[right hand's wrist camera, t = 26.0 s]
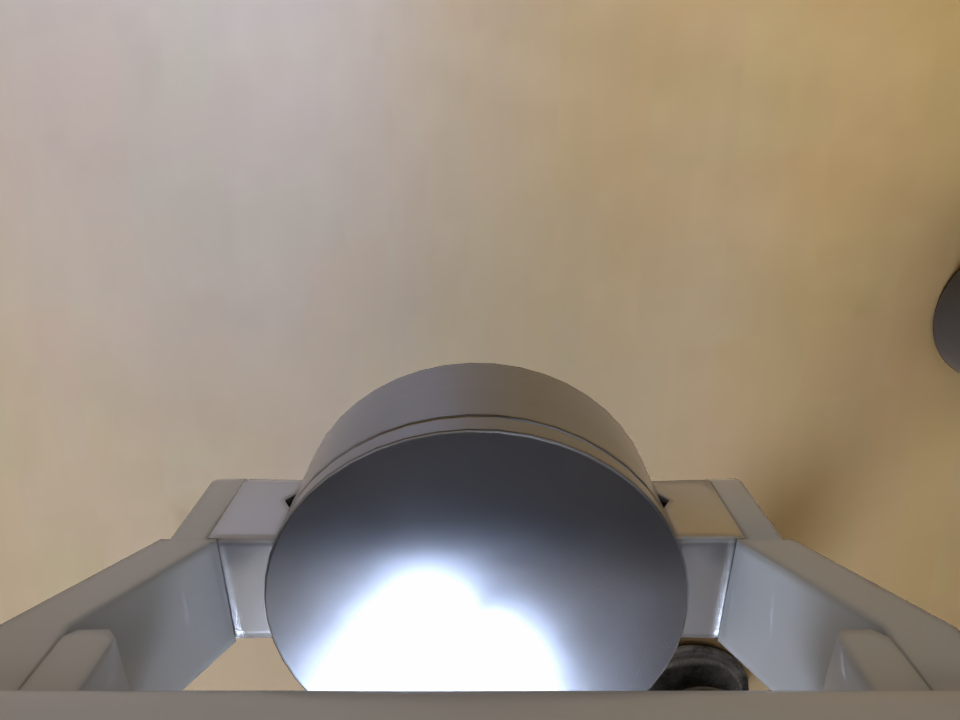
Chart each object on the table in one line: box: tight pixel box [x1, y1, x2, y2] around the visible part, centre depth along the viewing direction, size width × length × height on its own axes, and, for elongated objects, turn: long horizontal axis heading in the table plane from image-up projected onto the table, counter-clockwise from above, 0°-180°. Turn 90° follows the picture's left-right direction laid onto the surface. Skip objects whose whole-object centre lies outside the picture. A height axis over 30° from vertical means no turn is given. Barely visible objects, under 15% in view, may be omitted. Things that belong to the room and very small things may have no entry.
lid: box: [264, 363, 689, 691], centre depth 9 cm, size 6×6×2 cm
